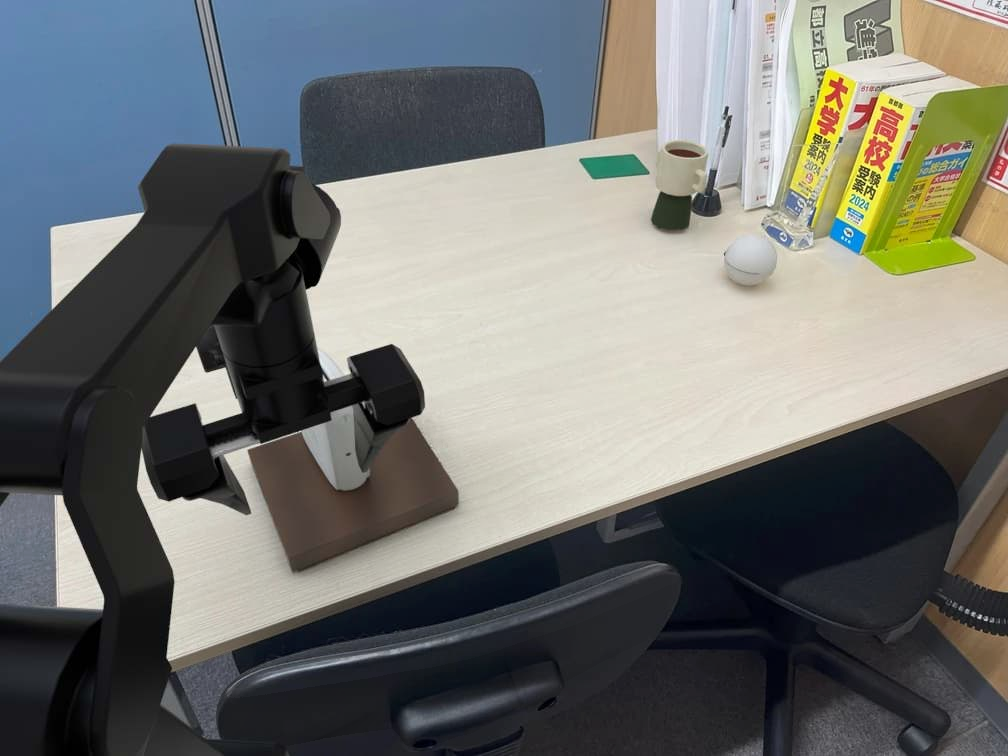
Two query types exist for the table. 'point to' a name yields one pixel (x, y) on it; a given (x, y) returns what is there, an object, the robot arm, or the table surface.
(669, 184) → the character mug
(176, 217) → the robot arm
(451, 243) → the table surface
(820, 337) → the table surface
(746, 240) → the seamed sphere
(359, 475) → the photo printer
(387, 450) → the walnut stand
